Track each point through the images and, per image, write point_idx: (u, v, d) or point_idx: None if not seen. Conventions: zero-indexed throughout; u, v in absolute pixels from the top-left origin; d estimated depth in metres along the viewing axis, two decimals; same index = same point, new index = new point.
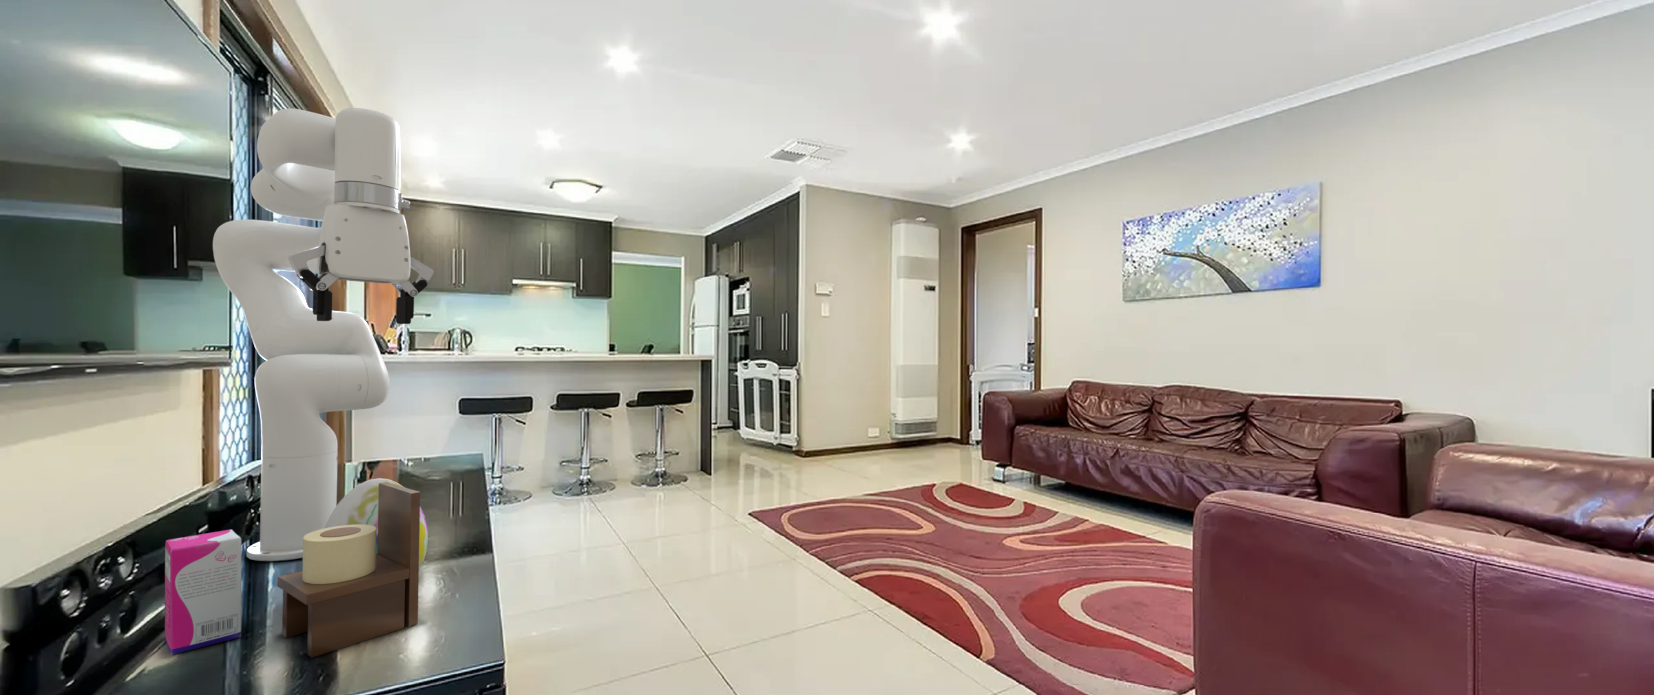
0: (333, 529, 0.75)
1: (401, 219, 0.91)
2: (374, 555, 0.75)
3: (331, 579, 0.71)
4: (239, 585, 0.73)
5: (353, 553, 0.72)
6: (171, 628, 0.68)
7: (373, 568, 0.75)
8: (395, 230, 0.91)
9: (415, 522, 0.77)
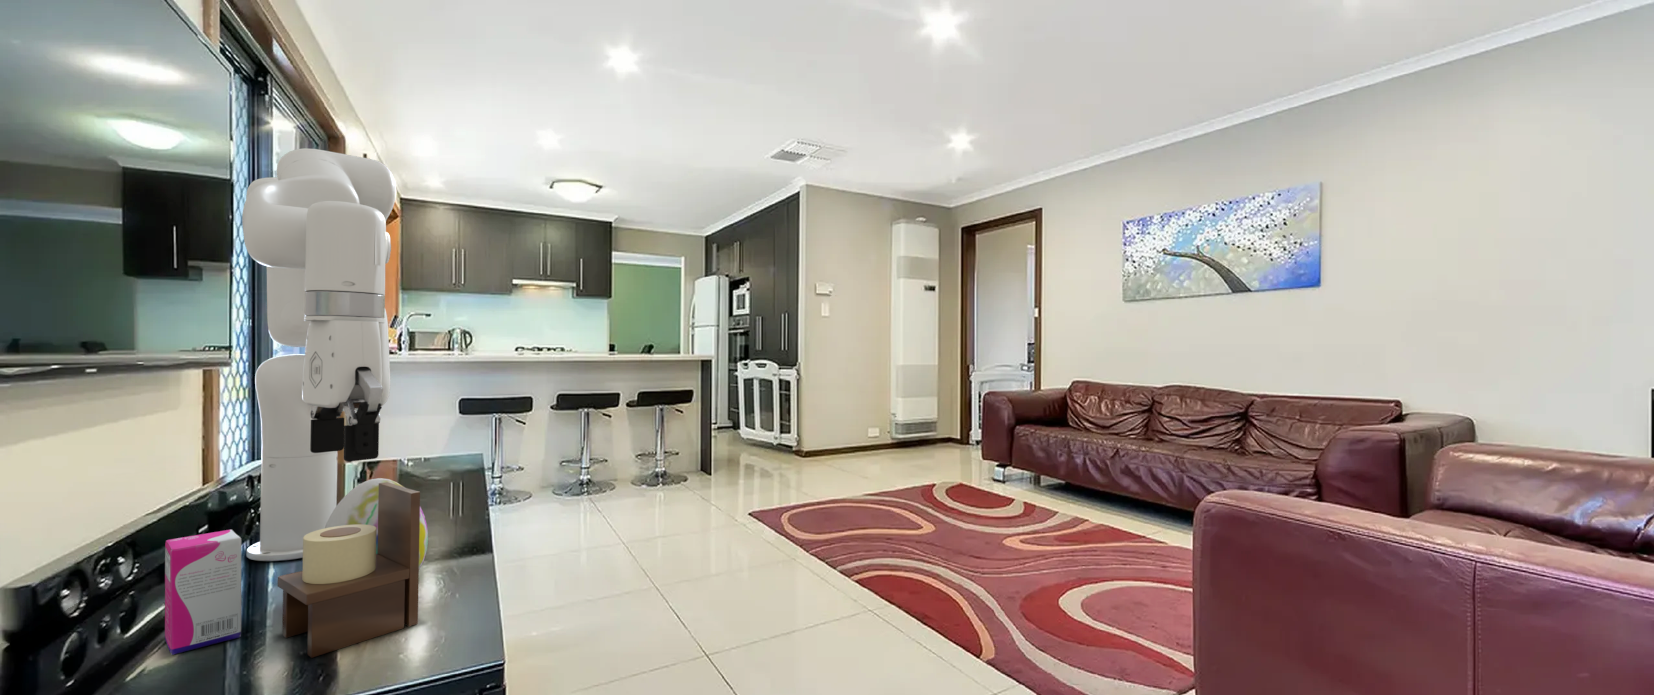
0: (333, 529, 0.75)
1: None
2: (374, 555, 0.75)
3: (331, 579, 0.71)
4: (239, 585, 0.73)
5: (353, 553, 0.72)
6: (171, 628, 0.68)
7: (373, 568, 0.75)
8: None
9: (415, 522, 0.77)
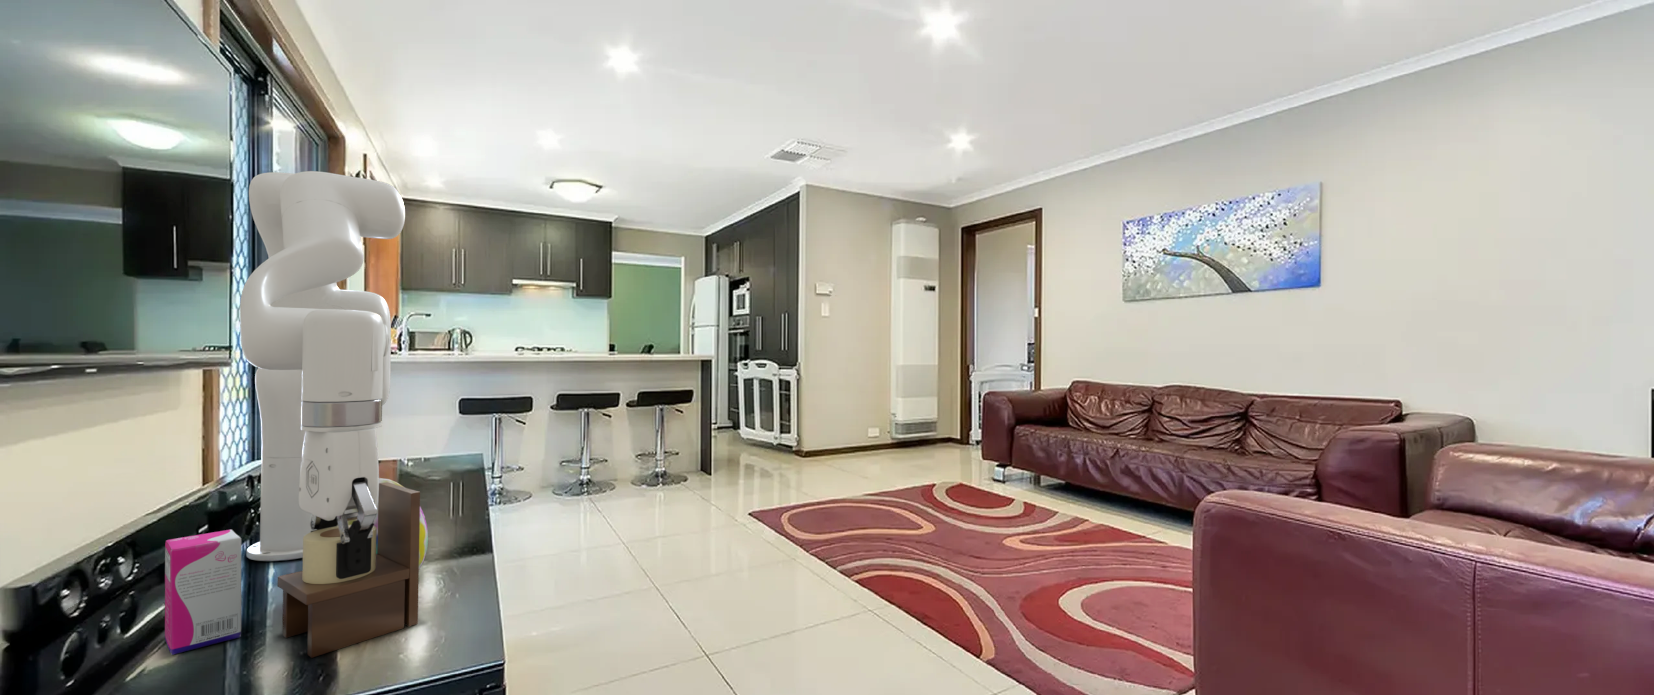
0: (333, 529, 0.75)
1: None
2: (374, 555, 0.75)
3: (331, 579, 0.71)
4: (239, 585, 0.73)
5: None
6: (171, 628, 0.68)
7: (373, 568, 0.75)
8: None
9: (415, 522, 0.77)
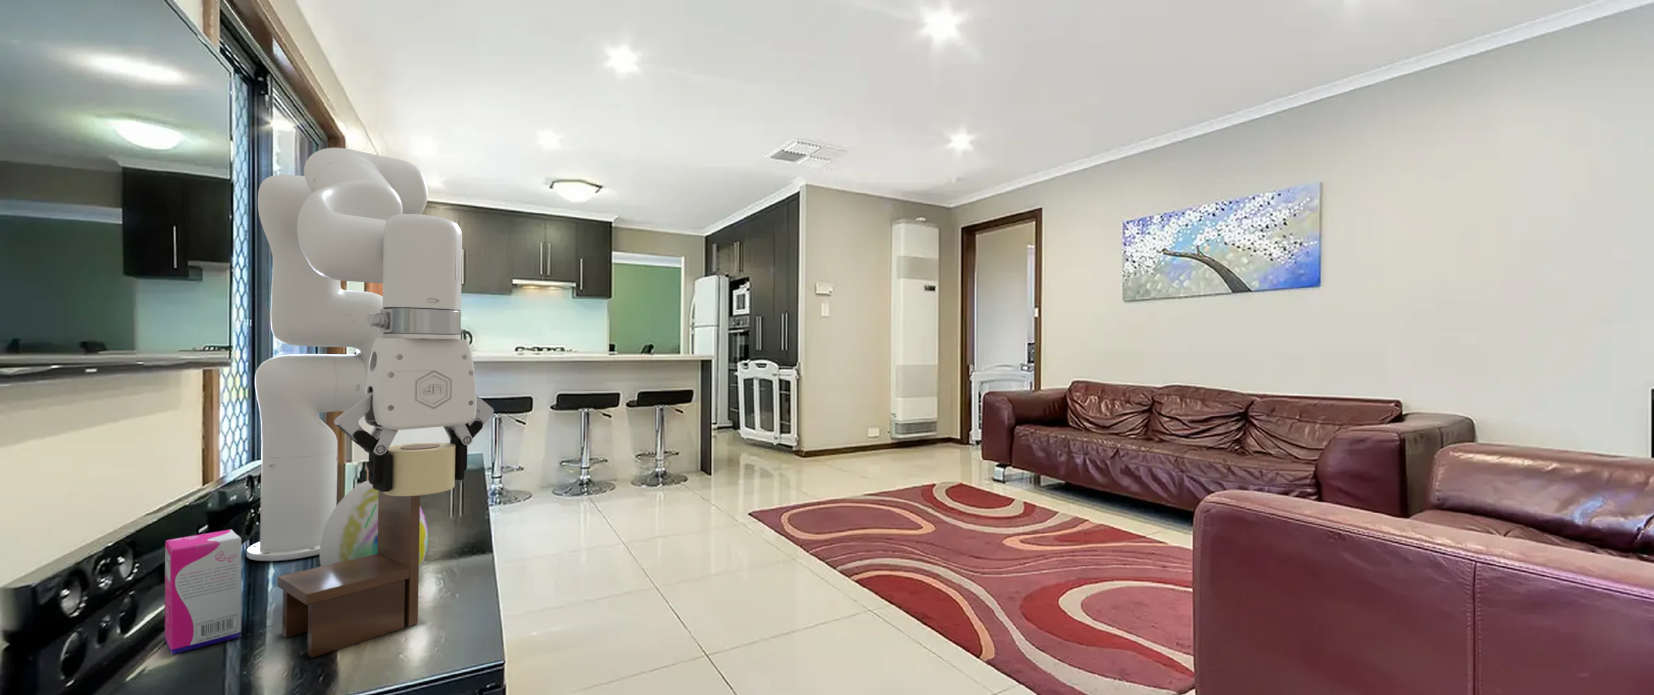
0: (404, 448, 0.70)
1: None
2: None
3: (454, 482, 0.73)
4: (239, 585, 0.73)
5: None
6: (171, 628, 0.68)
7: None
8: None
9: (415, 522, 0.77)
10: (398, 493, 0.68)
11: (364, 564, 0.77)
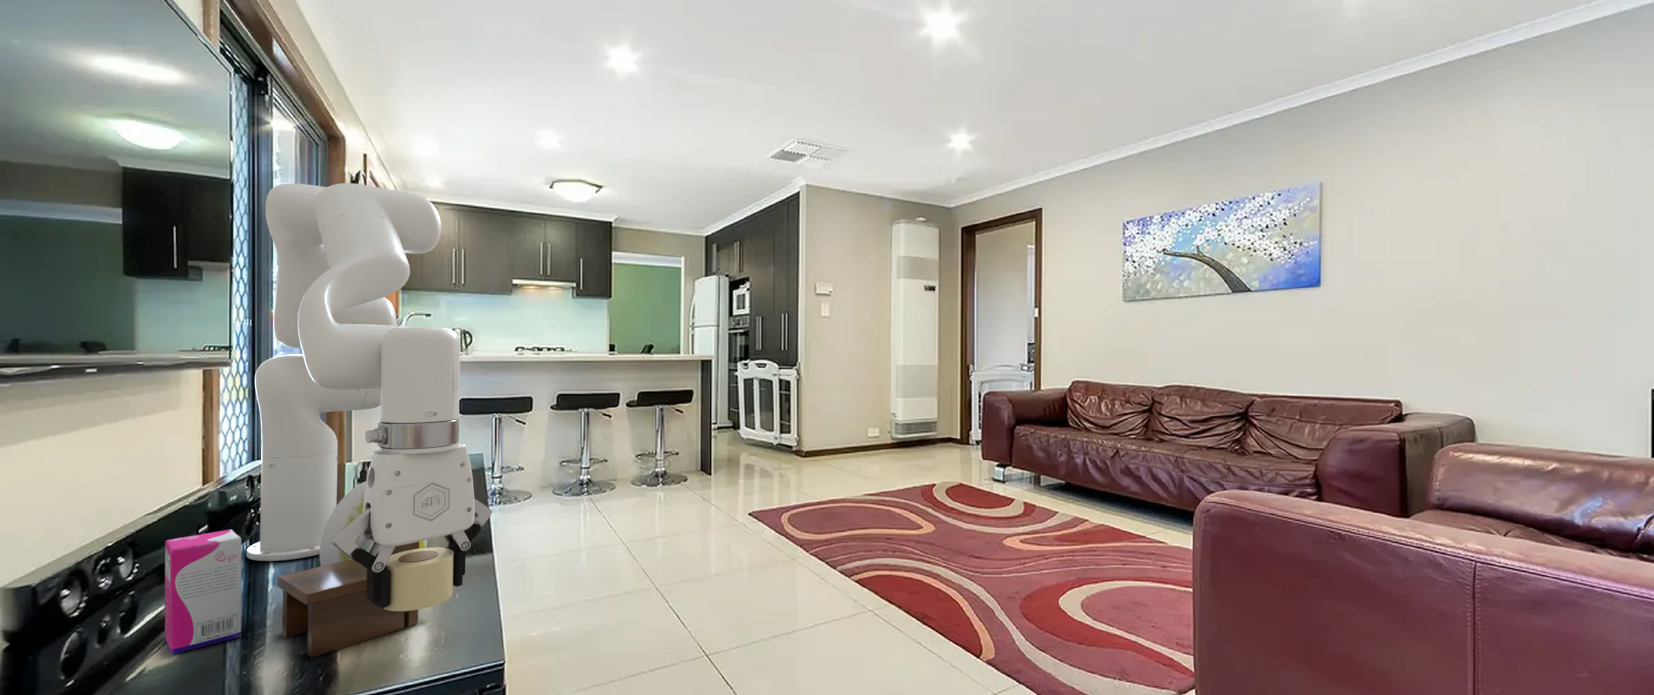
0: (402, 560, 0.70)
1: None
2: None
3: (452, 590, 0.73)
4: (239, 585, 0.73)
5: None
6: (171, 628, 0.68)
7: None
8: None
9: None
10: (396, 608, 0.68)
11: None
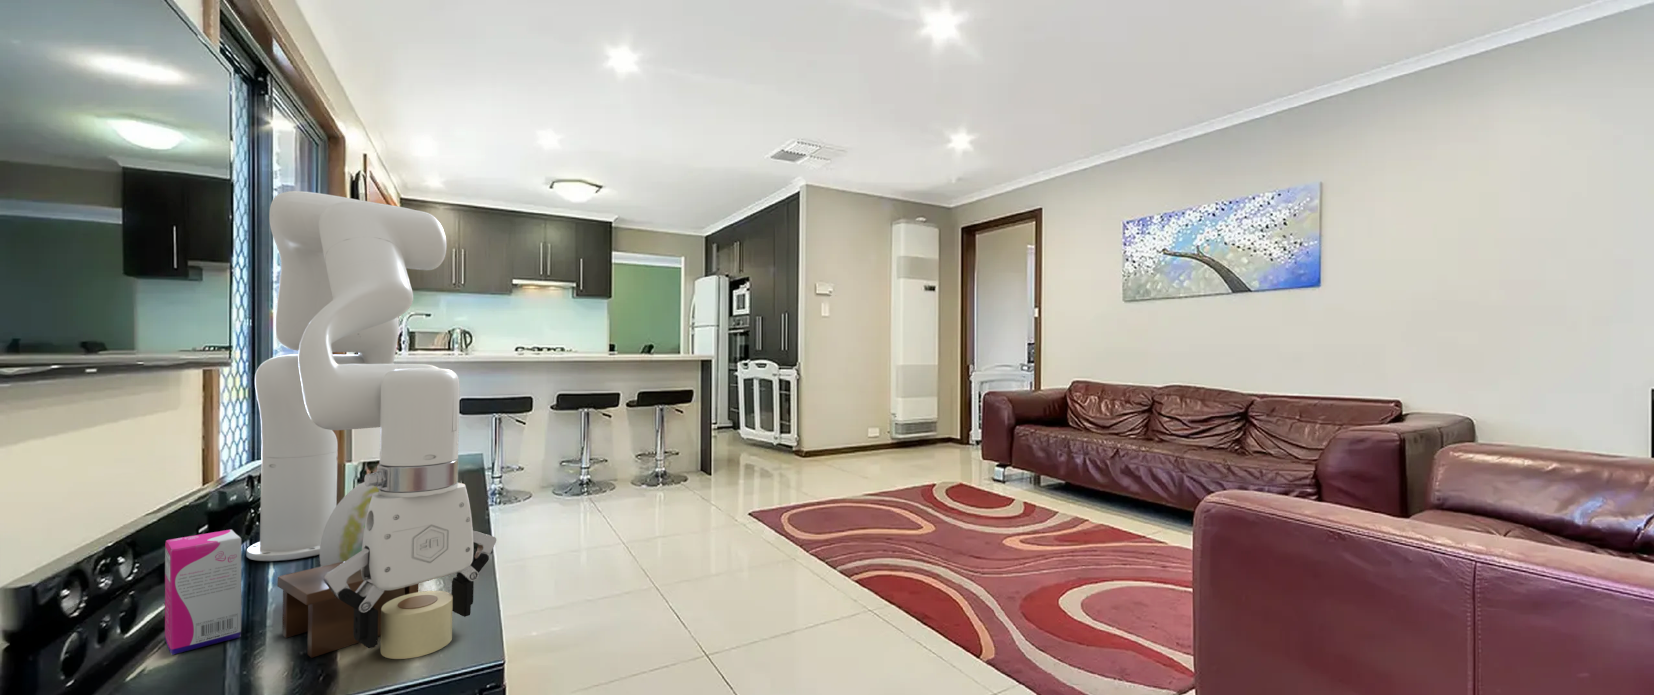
0: (401, 606, 0.70)
1: None
2: None
3: (451, 635, 0.73)
4: (239, 585, 0.73)
5: None
6: (171, 628, 0.68)
7: None
8: None
9: None
10: (395, 656, 0.68)
11: None
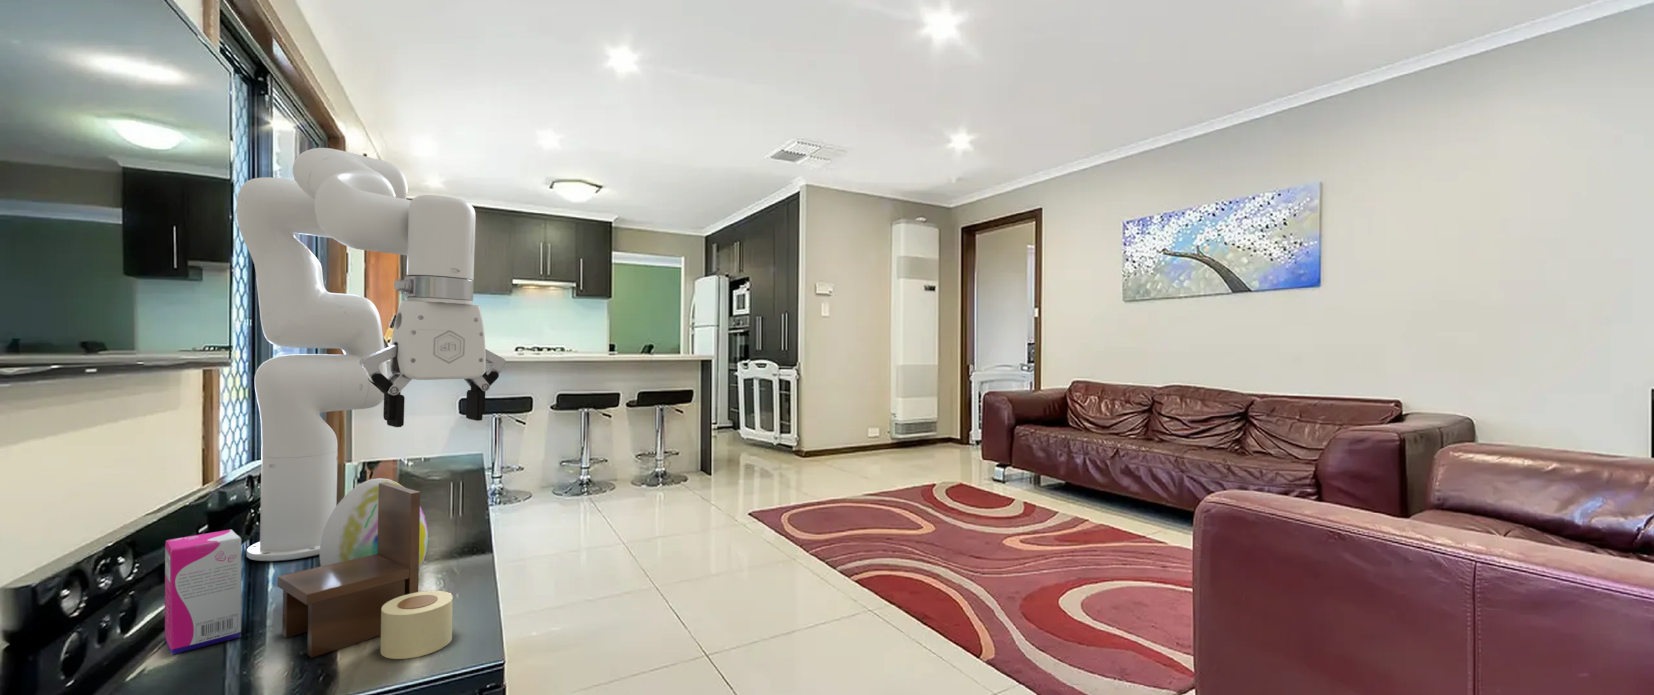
0: (401, 606, 0.70)
1: None
2: None
3: (451, 635, 0.73)
4: (239, 585, 0.73)
5: None
6: (171, 628, 0.68)
7: None
8: None
9: (415, 522, 0.77)
10: (395, 656, 0.68)
11: (364, 564, 0.77)
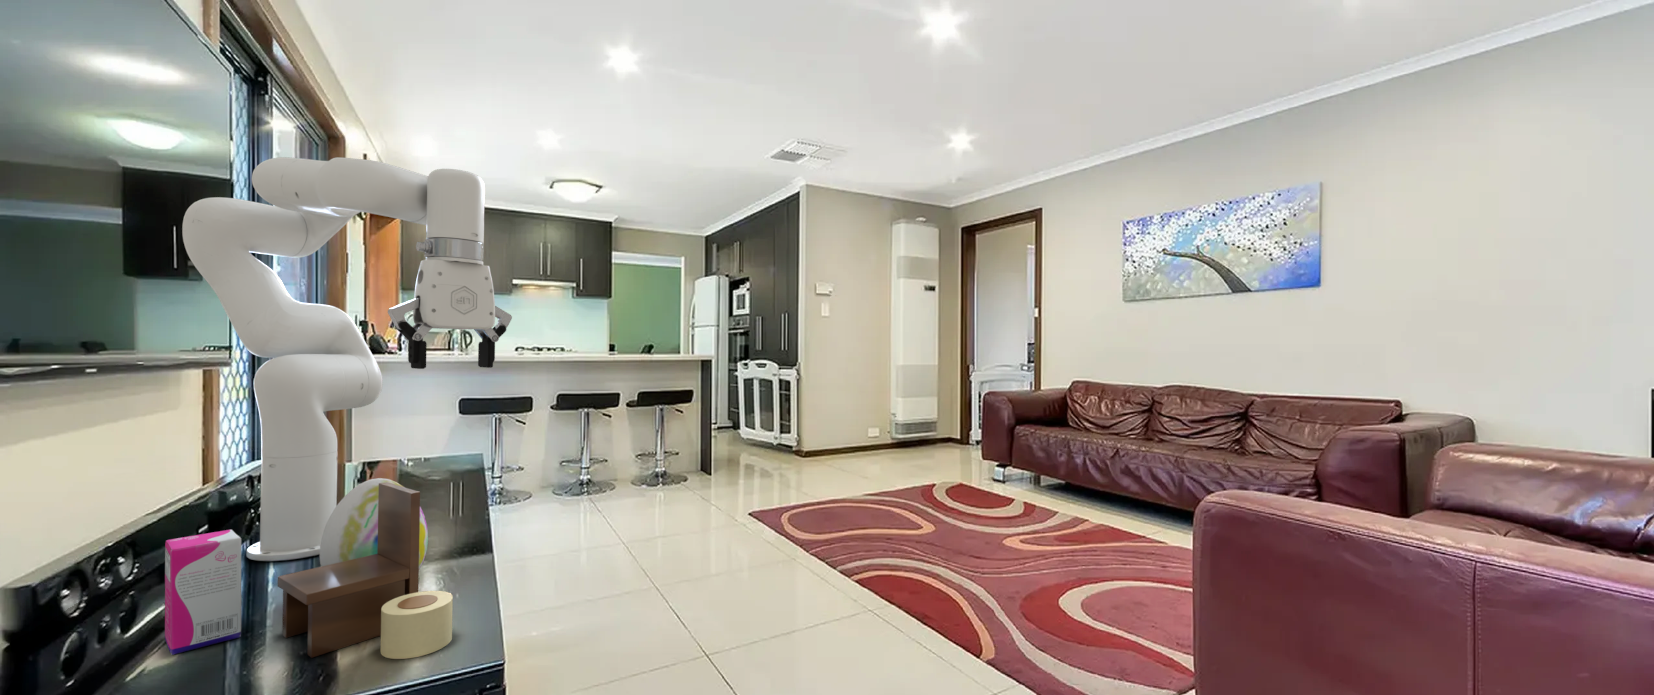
0: (401, 606, 0.70)
1: None
2: None
3: (451, 635, 0.73)
4: (239, 585, 0.73)
5: None
6: (171, 628, 0.68)
7: None
8: None
9: (415, 522, 0.77)
10: (395, 656, 0.68)
11: (364, 564, 0.77)
